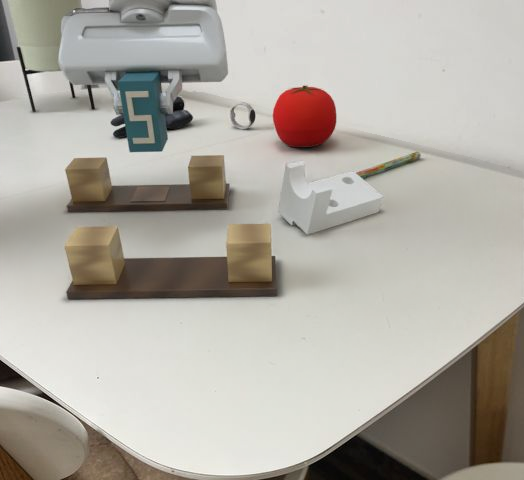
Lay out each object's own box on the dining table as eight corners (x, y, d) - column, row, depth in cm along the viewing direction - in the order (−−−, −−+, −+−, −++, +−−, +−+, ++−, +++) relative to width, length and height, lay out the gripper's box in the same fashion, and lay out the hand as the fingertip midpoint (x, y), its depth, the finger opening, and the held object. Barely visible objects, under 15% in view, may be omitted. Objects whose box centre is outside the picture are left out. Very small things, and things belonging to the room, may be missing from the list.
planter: (104, 96, 144) (85, -12, 130) (93, 113, 131) (71, -4, 117) (43, 98, 143) (18, -9, 129) (26, 115, 130) (-4, -2, 116)
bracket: (305, 240, 78) (316, 193, 73) (277, 211, 82) (285, 164, 76) (376, 217, 84) (391, 172, 78) (347, 191, 87) (359, 146, 82)
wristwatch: (250, 131, 117) (249, 105, 114) (229, 128, 118) (227, 103, 116) (256, 127, 119) (256, 102, 116) (235, 125, 121) (234, 100, 118)
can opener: (180, 118, 125) (177, 91, 122) (196, 125, 121) (194, 97, 118) (105, 134, 117) (100, 105, 114) (120, 142, 113) (115, 112, 109)
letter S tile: (129, 153, 69) (117, 81, 64) (137, 139, 73) (126, 72, 68) (161, 152, 69) (152, 80, 64) (167, 139, 73) (159, 71, 68)
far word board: (68, 212, 85) (58, 172, 82) (81, 192, 92) (73, 154, 88) (227, 209, 85) (224, 169, 81) (230, 189, 91) (227, 151, 88)
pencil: (349, 184, 92) (421, 158, 101) (349, 177, 91) (421, 152, 100) (343, 182, 93) (415, 157, 101) (343, 175, 92) (416, 150, 101)
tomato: (317, 132, 115) (319, 76, 109) (346, 149, 106) (350, 89, 100) (263, 140, 111) (261, 83, 105) (287, 158, 103) (288, 96, 96)
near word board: (67, 299, 65) (55, 252, 62) (85, 265, 72) (75, 221, 68) (276, 296, 65) (276, 248, 61) (275, 262, 71) (275, 217, 68)
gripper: (52, -10, 67) (47, 98, 65) (225, -15, 67) (225, 94, 65) (71, 27, 73) (67, 127, 72) (229, 23, 73) (229, 124, 71)
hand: (143, 111), depth 68 cm, fingers closed on letter S tile, 4 cm apart
